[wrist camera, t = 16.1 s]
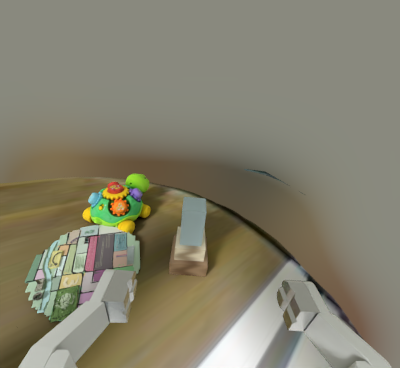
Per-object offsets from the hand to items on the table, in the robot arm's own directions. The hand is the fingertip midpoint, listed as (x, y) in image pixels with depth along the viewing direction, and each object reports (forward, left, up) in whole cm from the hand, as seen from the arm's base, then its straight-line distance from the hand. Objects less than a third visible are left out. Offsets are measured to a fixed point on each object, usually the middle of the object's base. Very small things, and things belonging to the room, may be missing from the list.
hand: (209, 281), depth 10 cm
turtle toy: (-22, +44, -32) cm, 59 cm away
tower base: (0, +27, -32) cm, 42 cm away
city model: (-23, +23, -33) cm, 46 cm away
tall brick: (0, +27, -24) cm, 36 cm away
